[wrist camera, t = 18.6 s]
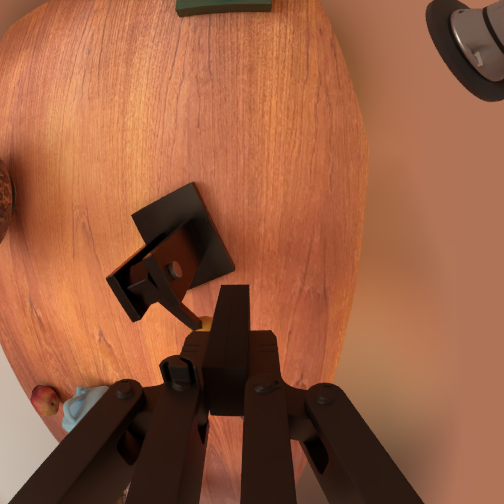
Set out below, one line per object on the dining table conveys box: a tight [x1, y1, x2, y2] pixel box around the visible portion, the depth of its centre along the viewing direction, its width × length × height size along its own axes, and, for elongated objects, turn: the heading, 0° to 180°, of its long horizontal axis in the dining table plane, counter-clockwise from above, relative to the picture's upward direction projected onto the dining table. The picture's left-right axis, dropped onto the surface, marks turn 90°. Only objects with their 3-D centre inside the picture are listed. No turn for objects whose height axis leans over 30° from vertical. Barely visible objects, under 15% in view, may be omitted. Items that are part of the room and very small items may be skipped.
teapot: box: [62, 386, 109, 433], centre depth 38 cm, size 18×16×14 cm
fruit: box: [31, 385, 59, 416], centre depth 41 cm, size 8×8×8 cm
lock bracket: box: [106, 182, 235, 322], centre depth 27 cm, size 12×9×15 cm
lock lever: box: [127, 261, 213, 334], centre depth 25 cm, size 13×4×4 cm, turn 24°
